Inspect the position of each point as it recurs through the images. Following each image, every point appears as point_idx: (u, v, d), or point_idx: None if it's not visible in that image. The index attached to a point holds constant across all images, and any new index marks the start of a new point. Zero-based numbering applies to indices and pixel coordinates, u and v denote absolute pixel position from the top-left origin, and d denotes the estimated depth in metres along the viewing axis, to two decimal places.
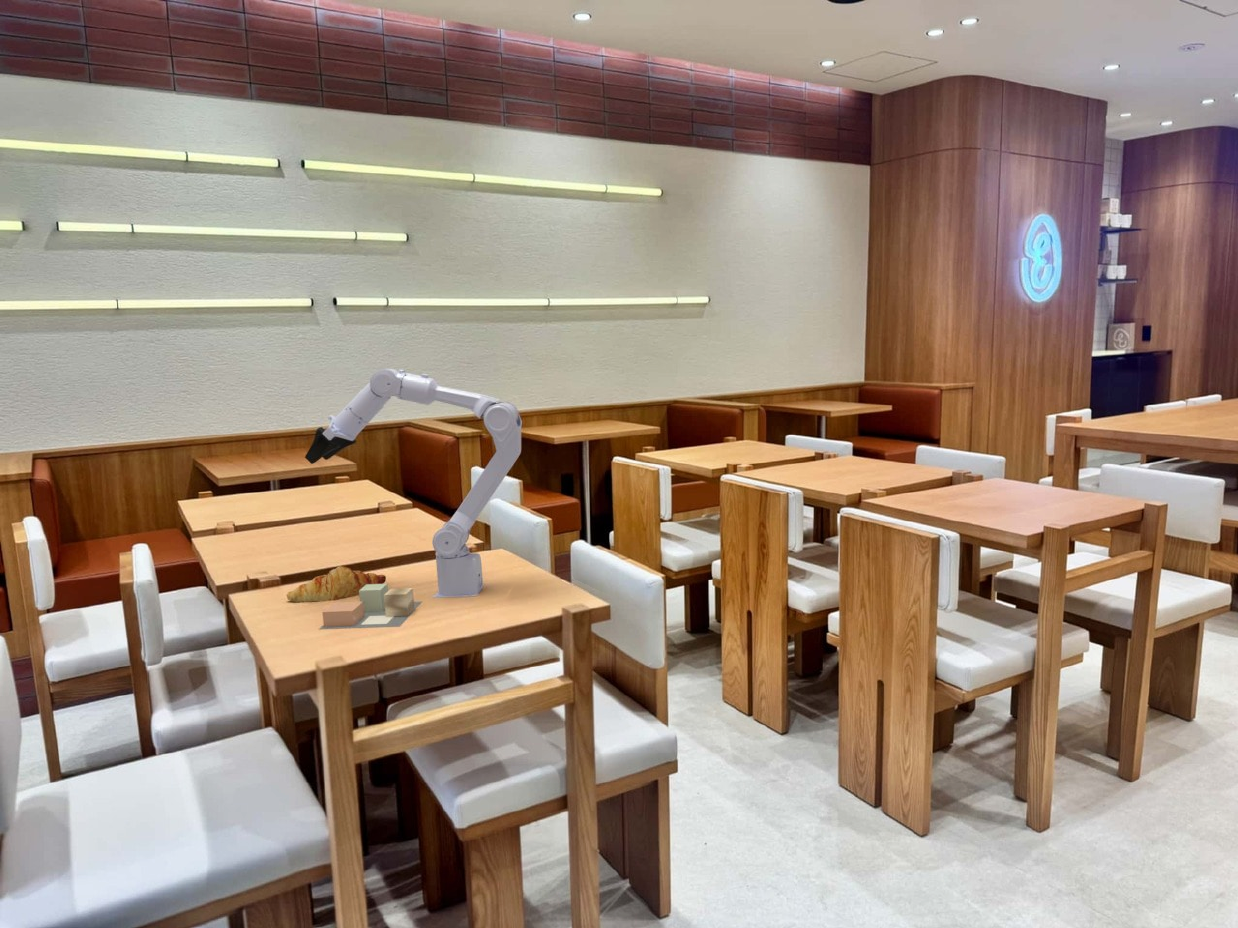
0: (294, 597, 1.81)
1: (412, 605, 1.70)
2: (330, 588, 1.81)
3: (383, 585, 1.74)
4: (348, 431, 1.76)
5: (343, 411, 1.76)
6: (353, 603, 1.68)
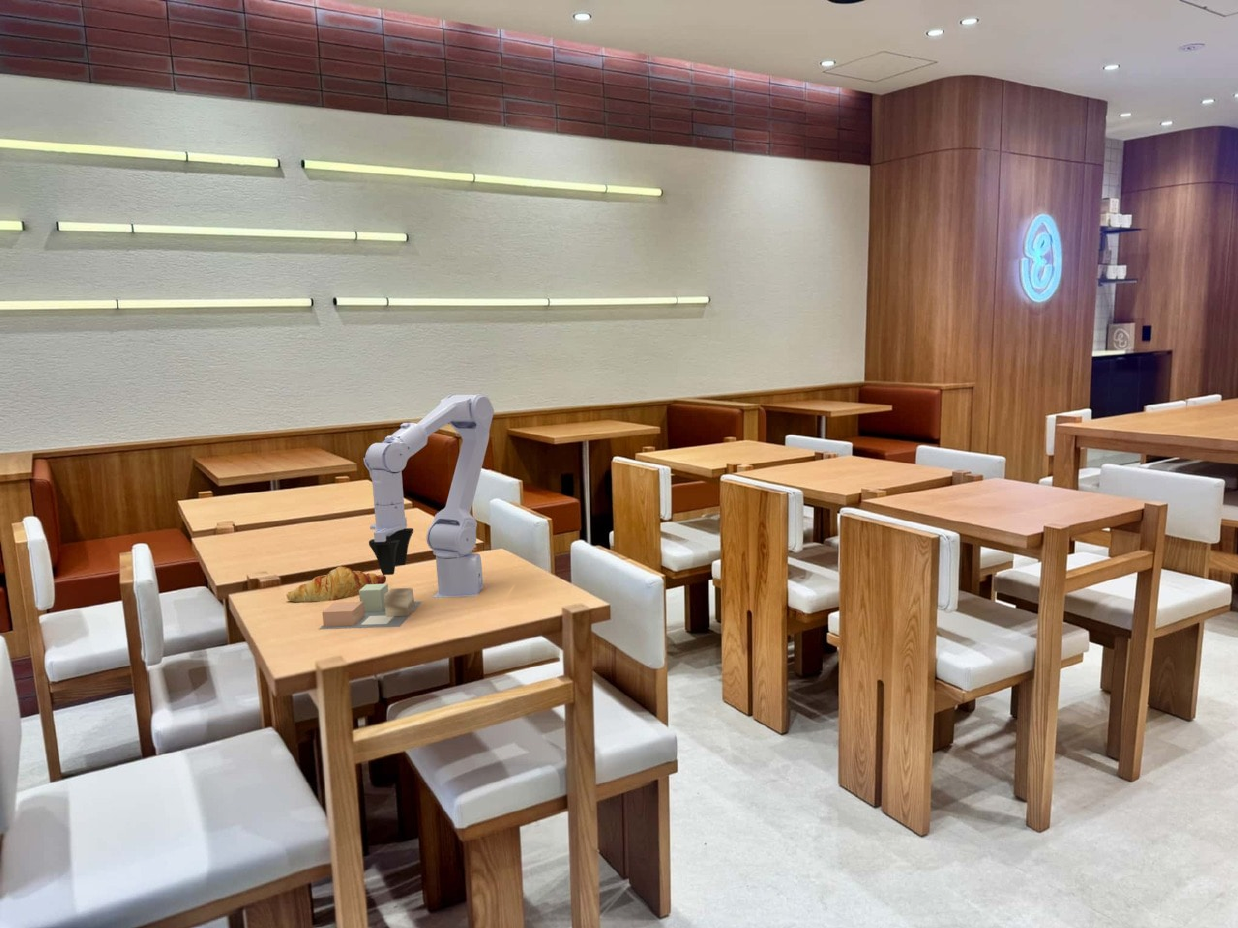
0: (294, 597, 1.81)
1: (412, 605, 1.70)
2: (330, 588, 1.81)
3: (383, 585, 1.74)
4: (395, 523, 1.65)
5: (376, 512, 1.65)
6: (353, 603, 1.68)
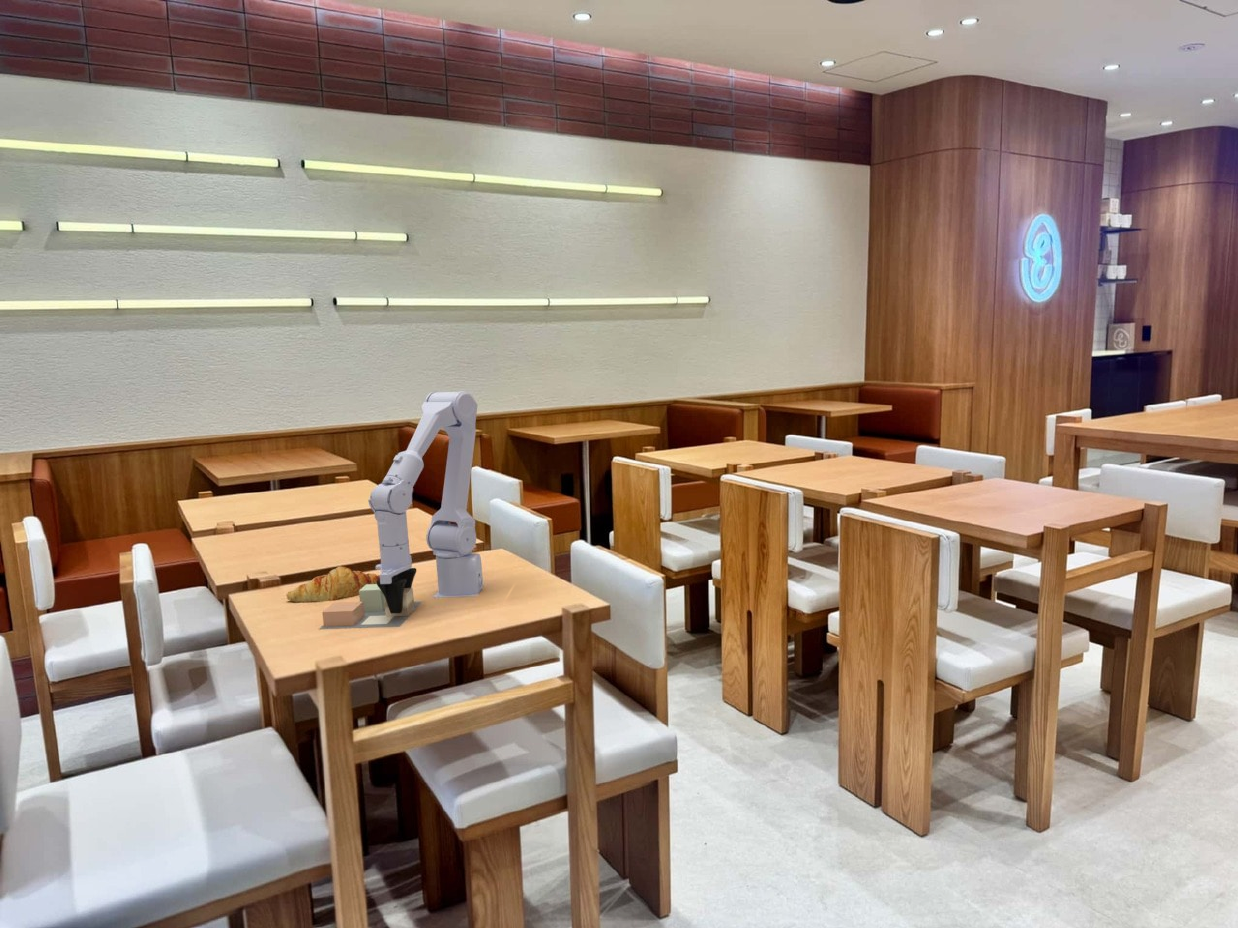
0: (294, 597, 1.81)
1: (412, 605, 1.70)
2: (330, 588, 1.81)
3: None
4: (400, 563, 1.66)
5: (381, 552, 1.66)
6: (353, 603, 1.68)
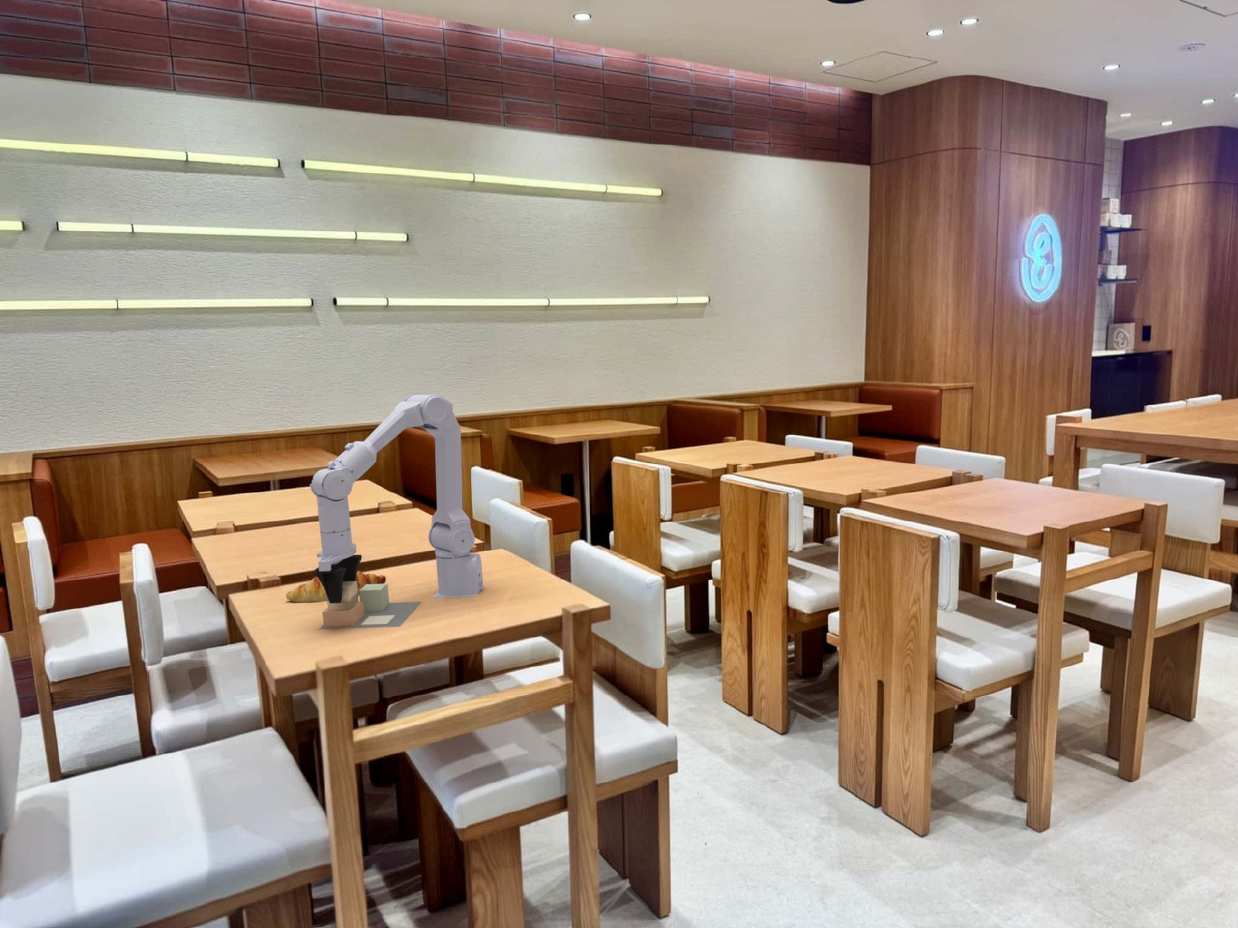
0: (293, 597, 1.81)
1: (356, 598, 1.67)
2: None
3: (383, 585, 1.74)
4: (341, 550, 1.62)
5: (321, 539, 1.62)
6: None
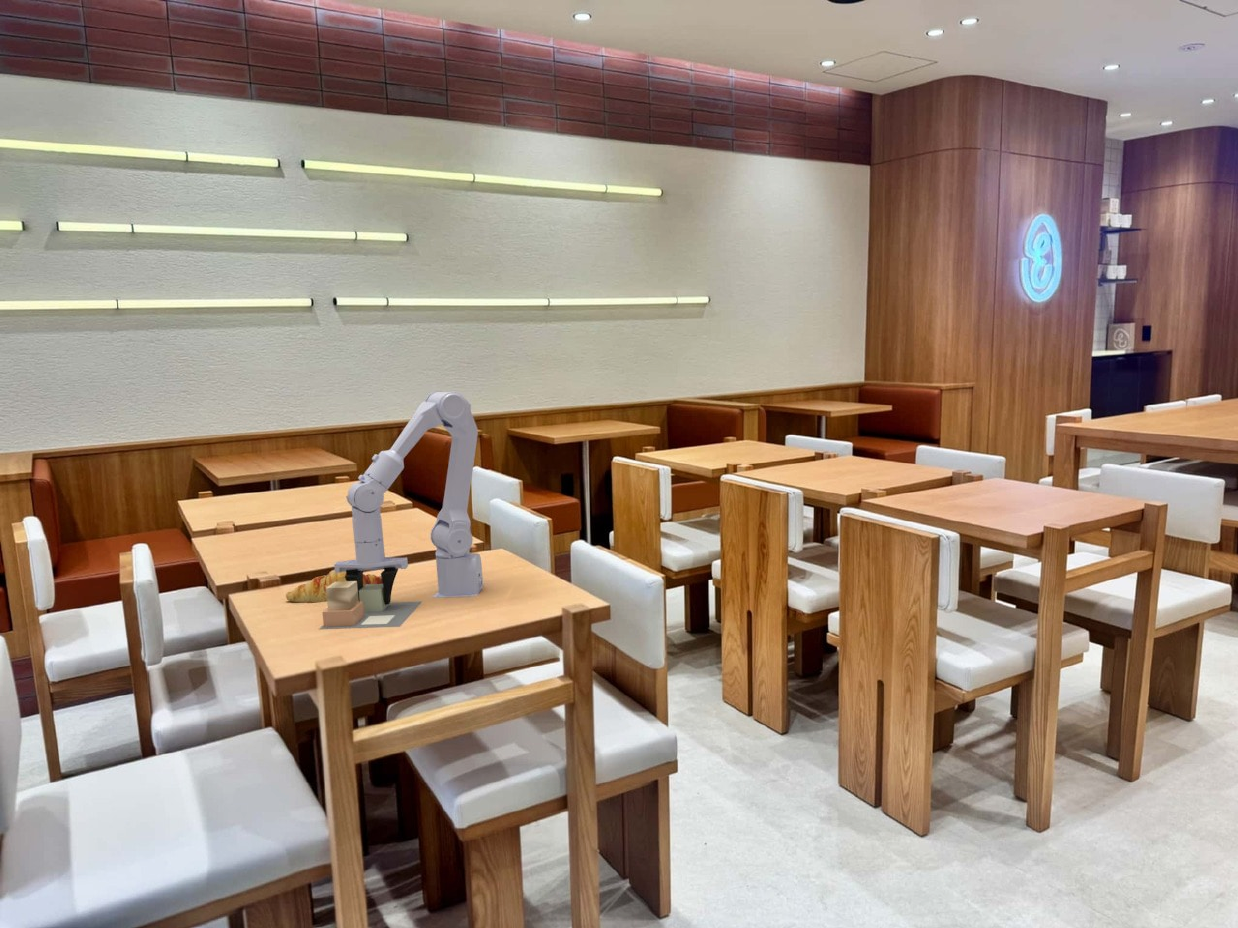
0: (293, 597, 1.81)
1: (356, 598, 1.67)
2: None
3: None
4: (357, 559, 1.71)
5: None
6: None
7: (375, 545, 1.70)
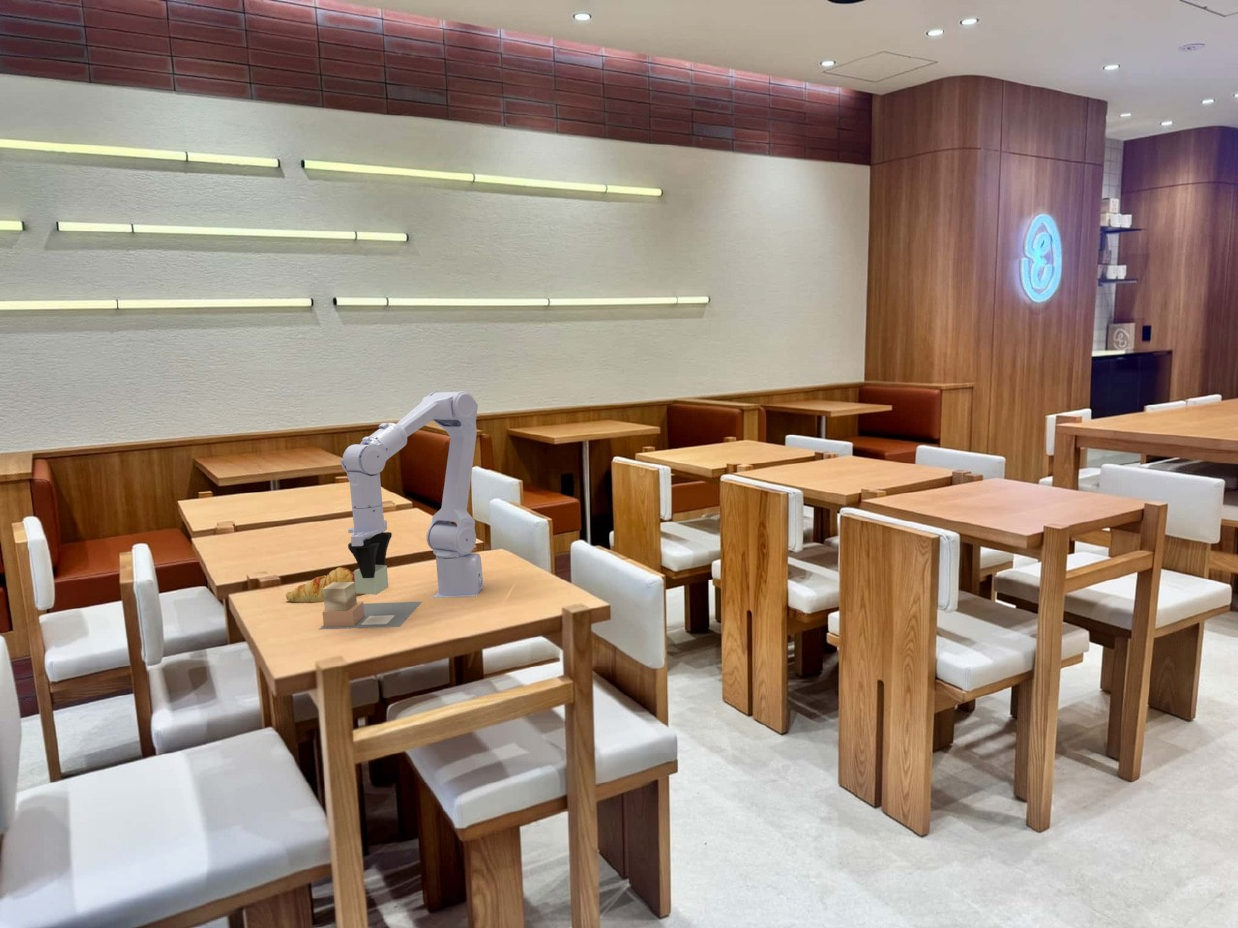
0: (292, 597, 1.81)
1: (354, 600, 1.66)
2: None
3: None
4: (373, 526, 1.61)
5: (353, 515, 1.61)
6: None
7: None
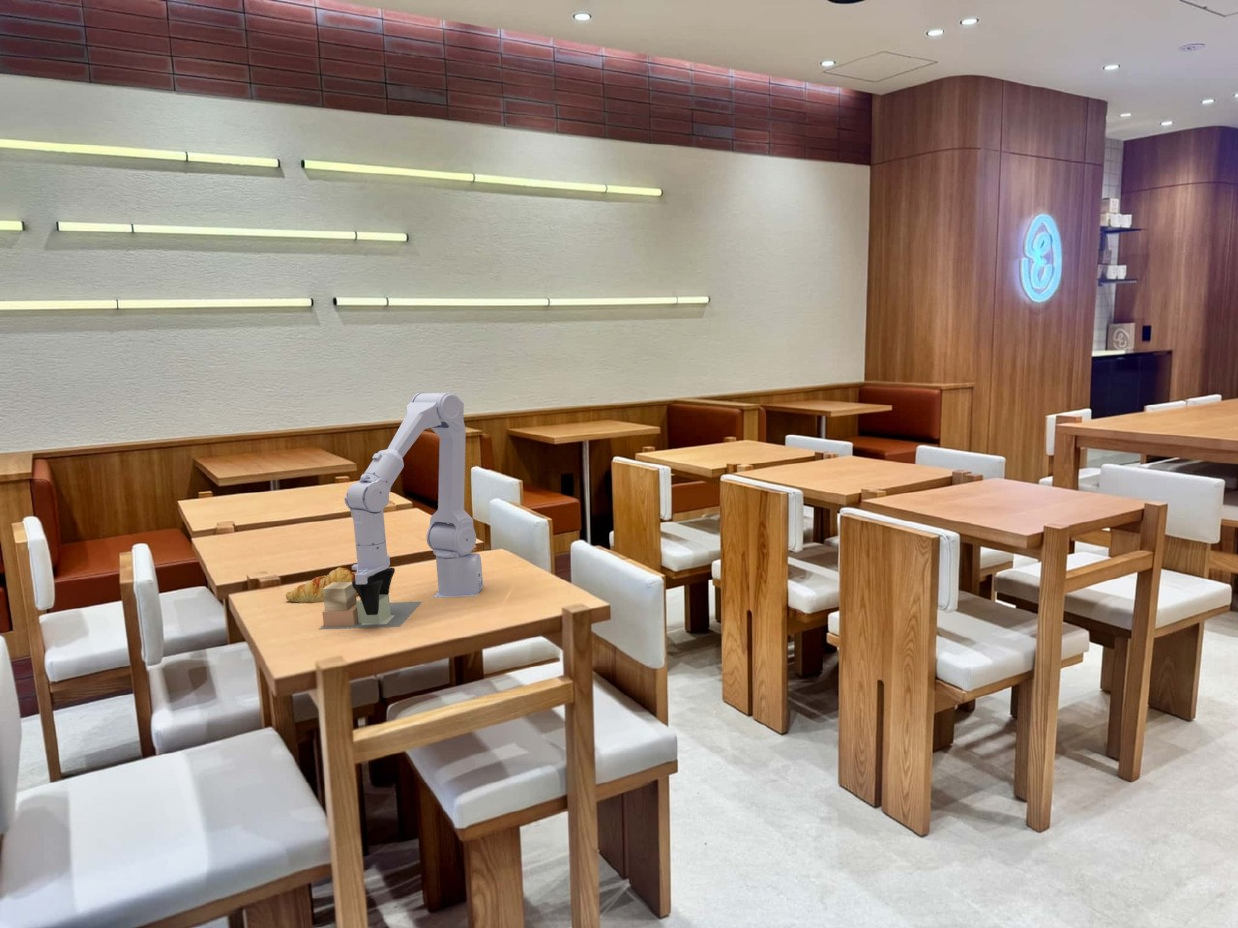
0: (292, 597, 1.81)
1: (354, 600, 1.66)
2: None
3: None
4: (376, 563, 1.62)
5: (357, 552, 1.62)
6: None
7: None
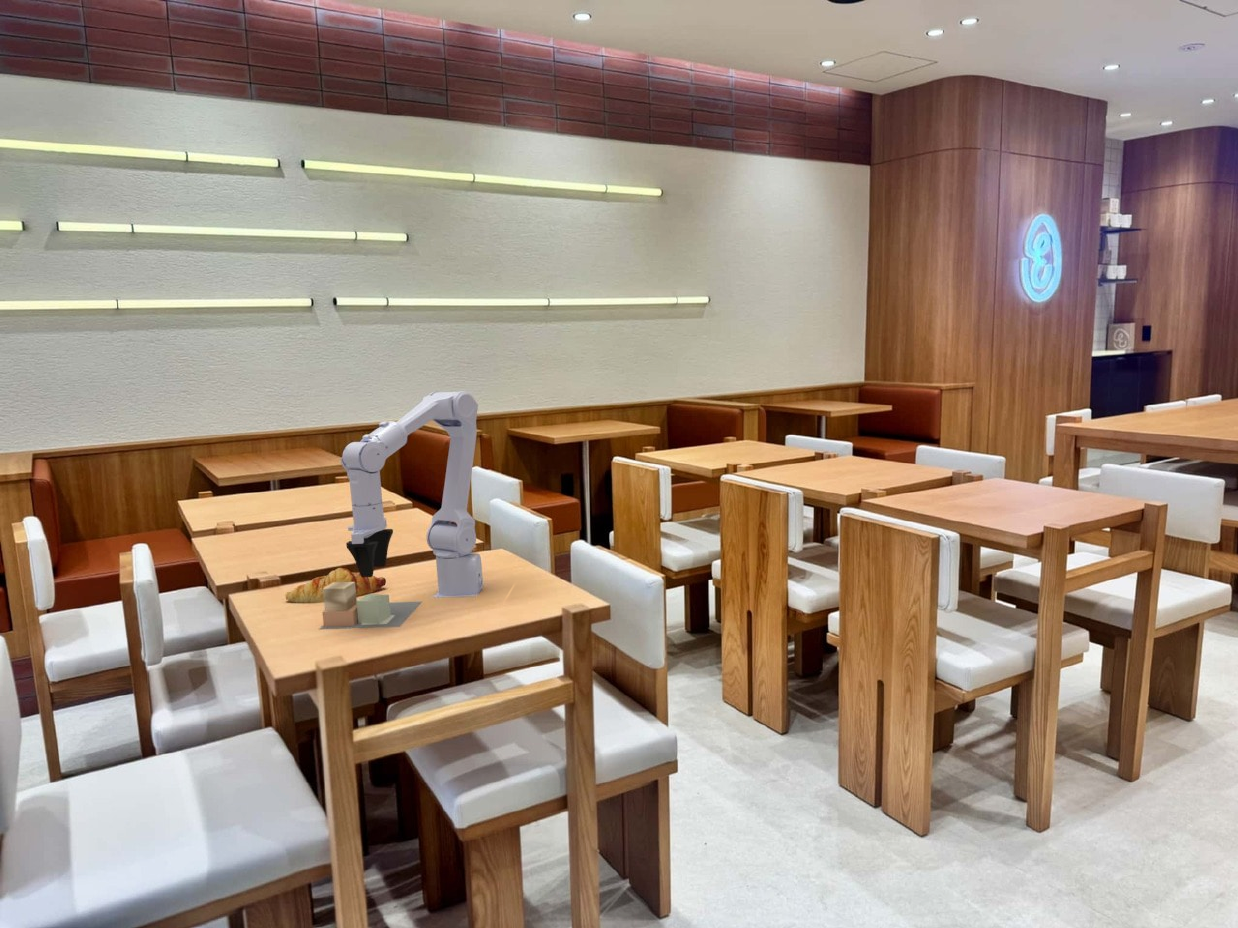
0: (292, 598, 1.80)
1: (354, 600, 1.66)
2: None
3: (373, 595, 1.67)
4: (373, 524, 1.61)
5: (353, 513, 1.61)
6: None
7: None
